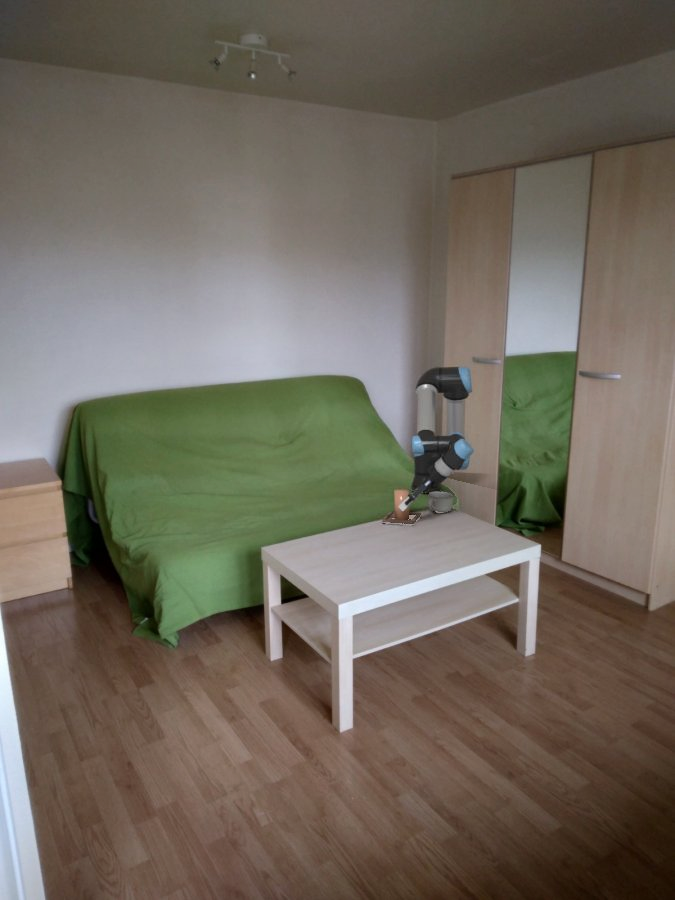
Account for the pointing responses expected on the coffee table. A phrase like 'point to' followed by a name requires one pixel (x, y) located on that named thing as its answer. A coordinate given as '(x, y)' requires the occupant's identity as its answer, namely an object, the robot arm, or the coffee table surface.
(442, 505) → the teacup
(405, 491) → the pillar candle
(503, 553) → the coffee table surface
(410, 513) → the tray
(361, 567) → the coffee table surface
